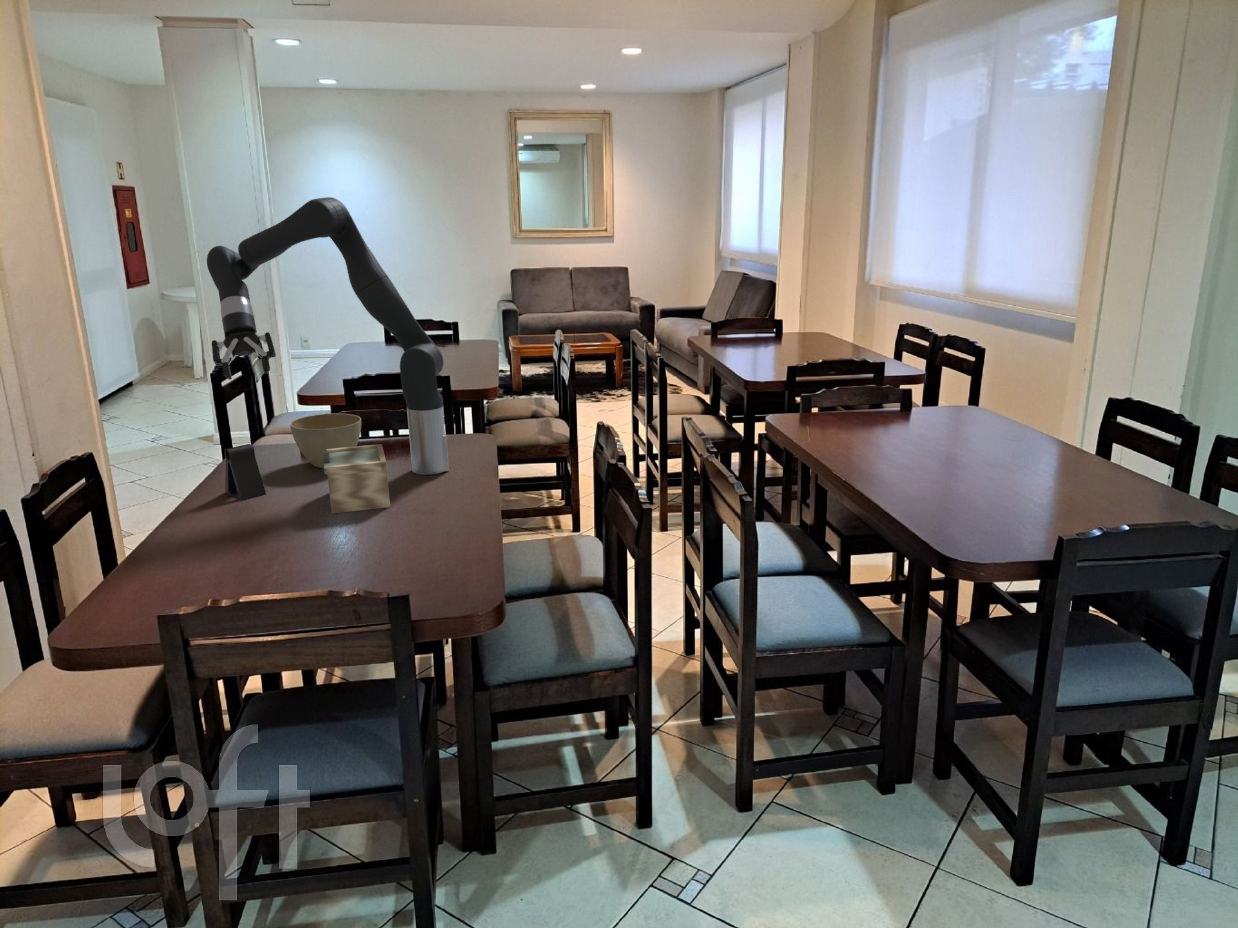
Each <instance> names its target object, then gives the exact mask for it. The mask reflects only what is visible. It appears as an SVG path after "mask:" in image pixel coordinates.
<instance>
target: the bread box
mask: <svg viewBox="0 0 1238 928" xmlns="http://www.w3.org/2000/svg"><path fill="white" fill-rule="evenodd" d="M326 451H327V453H324V457H323V459H324V468H323V471H324V472H323V473H324V475H327V484H328V491H329V492H328V493H329V501H330V509H331V514H340V513H341V514H342V513H349V512H357V511H358V512H359V511H366V510H375V509H376V510H377V509H384V508H390V507H391V503H390V502H391V499H390V490H389V481H388V480H389V479H388V469H387V461H386V456H385V452H384V448H383V444H382V443H381V444H380V443H379V444H368V445H357V446H355V447H344V448H333V449H326Z"/></svg>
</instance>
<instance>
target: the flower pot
mask: <svg viewBox="0 0 1238 928" xmlns="http://www.w3.org/2000/svg"><path fill="white" fill-rule="evenodd" d="M289 426H290V430H291V434H292V438H293V440H294V441H295V444H296V447H297V448H298V449H299V451H300V453H301V454H302V456H304V457H305V459H306V460H307V461H308V462H309V463H310V464H312V465H313V467H316V468H320V469H324V459H323V457H324V453H327V451H326V449H333V448H344V447H355V446H358V443H359V440H360V436H361V429H362V418H361V417H360V416H359V415H355V414H349V413H322V414H321V413H320V414H314V415H308V416H303V417H299V418H296V419H294V420H291V422H290V424H289Z"/></svg>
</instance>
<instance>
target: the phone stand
mask: <svg viewBox="0 0 1238 928" xmlns="http://www.w3.org/2000/svg"><path fill="white" fill-rule="evenodd" d="M255 454H256V453H255V448H254V445H253V444H251V443H247V444H243V445H237V446H233V447H228V448H225V449H224V458H225V474H224V475H225V479H224V480H225V482H224V483H225V484H224V485H225V486H224V491H225V493H226V494H227V495H230V496H231V495H232V496H231V497H234V498H236V499H238V500H240V501H244V500H249V499H252V497H253V498H256V497H260V496H264V495H266V494H267V493H266V490H265V489H266V488H265V485H264V482H263V479H262V476H261V472H260V469H259V465H258V462H257V458H256V455H255Z"/></svg>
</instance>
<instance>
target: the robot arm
mask: <svg viewBox="0 0 1238 928" xmlns="http://www.w3.org/2000/svg"><path fill="white" fill-rule="evenodd" d="M318 238H329V239H331V241H332V242H333V243H334V245H335V246H336V248H337V249H338V251H339V252H340V254H341V256H342V258H343V259H344V263H345V266H346V269H347V275H348V280H349V283H350V286H351V289H352V290H353V292H354V293H355V295H356V298H357V299H358V300H359V302H360V303H361V304H362V306H363V307H364V309H365V310H366V311H367V313H368V314H369V315H370V316H371V317H372V318H373V319H374V320H376V321H377V323H379V324H380V325H381V326H383V327H384V328H385V329H386V330H387V331H388V332H390V334H391V335H392V336H393V337H394V338H395V340H397V342H398V344H399V346H400V347H401V348H402V350H403V353H402V355H401V357H400V362H399V373H400V383H401V389H402V396H403V398H404V400H405V403H406V414H407V415H406V416H407V425H408V426H407V427H408V437H409V449H410V450H409V451H410V463H411V465H410V466H411V469H412V470H411V471H412V473H413V474H416V475H424V476H425V475H428V476H429V475H430V476H431V475H437V474H441V473H443V472H449V471H450V467H449V454H448V453H449V452H448V441H447V435H446V428H445V417H444V416H445V413H444V400H443V399H444V398H443V396H442V394H441V393H439V391H438V381H437V376H438V375H439V374H440V373H441V372H442V370H443V368H444V364H445V363H444V357H443V354H442V352H441V350H440V349H439V347H438V346H437V345H436V344H435V342H434V341H433V340H432V339H431V337H429V335H428V334H427V332H425V330H424V329H423V328H422V326H421V325H420V324H419V322H418V321H417V320H416V318H415V316H414V315H413V313H412V311H411V310H410V308H409V307H408V305H407V303H406V302H405V301H404V299H403V297H402V296H401V294H400V293H399V291H398V290H397V288H396V286H395V285H394V284H393V282H392V280H391V278H390V277H389V276H388V274H387V273H386V271H385V269H383V268H382V266H381V265H380V263H379V261H378V260H377V257H376V256H375V255H374V253H373V251H372V250H371V249H370V247H369V246H368V244H367V243H366V241H365V239H364V238H363V236H362V234H361V232H360V230H359V229H358V226H357V225H356V222H355V220H354V219H353V217H352V215H351V214H350V211H349V210H348V209H347V207H346V206H345V204H344V203H343V202H342V201H341V200H339V199H337V198H335V197H319V198H313V199H310V200H309V201H307V202H305V203H304V204H303V205H301V206H300V207H299V208H298V209H296V210H295V211H294V212H292V214H290V215H289V216H287V217H286V218H285V219H283V220H281V221H279V222H278V223H276V224H275V225H272V226H270V227H268V228H265V229H264V230H261V231H259V232H257V233H255V234H252V235H251V236H249V237H247V238H245V239H243V240H242V241H240V242H239V244H238V246H237V252H236V251H235V250H232V249H230V248H229V247H226V246H225V245H215V246H213V247H212V248H211V249H210V250H209V251H208V253H207V255H206V266H207V270H208V273H209V275H210V277H211V279H212V281H213V283H214V285H215V287H216V289H217V292H218V296H219V298H218V299H219V302H220V314H221V315H220V316H221V321H222V326H223V329H222V330H223V334H224V340H223V341H217V340H215V339H214V340H212V341H211V352H212V360H213V363H214V364H215V366H217V367H220V366H221V367H222V372H223V375H224V377H225V378H226V379H228V380H229V381H230V380H232V378H233V377H232V372H231V366H230V364H231V362H232V361H234V359H236V357H243V356H250V355H251V356H252V355H253V353H254V354H255V355H256V356H257V357H260V358H261V362H262V367H263V372H264V374H265V375H266V374H269V372H270V371H271V365H270V359H271V358H275V357H277V354H276V350H275V347H274V346H275V345H274V342H273V338H272V335H271V333H270V332H265V333H264V334H262V335H259V334H258V332H257V327H256V321H255V314H254V313H255V312H254V310H253V307H252V304H251V299H250V294H249V293H250V292H249V288H248V285H247V283H245V281H244V280H246V279H248V278H249V277H250V276H251V275H252V273H254V272H255V271H256V270H257V269H258V268H259V267H260V266H261V265H263V264H265V263H268V262H269V261H271V260H274V259H276V258H278V257H279V256H280V255H282V254H284V253H286V251H287V250H289V249H290V248H291V247H293V246H295V245H298V244H299V243H301V242H306V241H311V240H314V239H318ZM261 342H262V343H263V344H266V345H267V349H268V350H267V351H265V350H263V348H261V346H259V345H260V343H261ZM224 347H225V348H226V350H225V354H223V357H222V358H221V353H220V352H222V350H223V348H224Z"/></svg>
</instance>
